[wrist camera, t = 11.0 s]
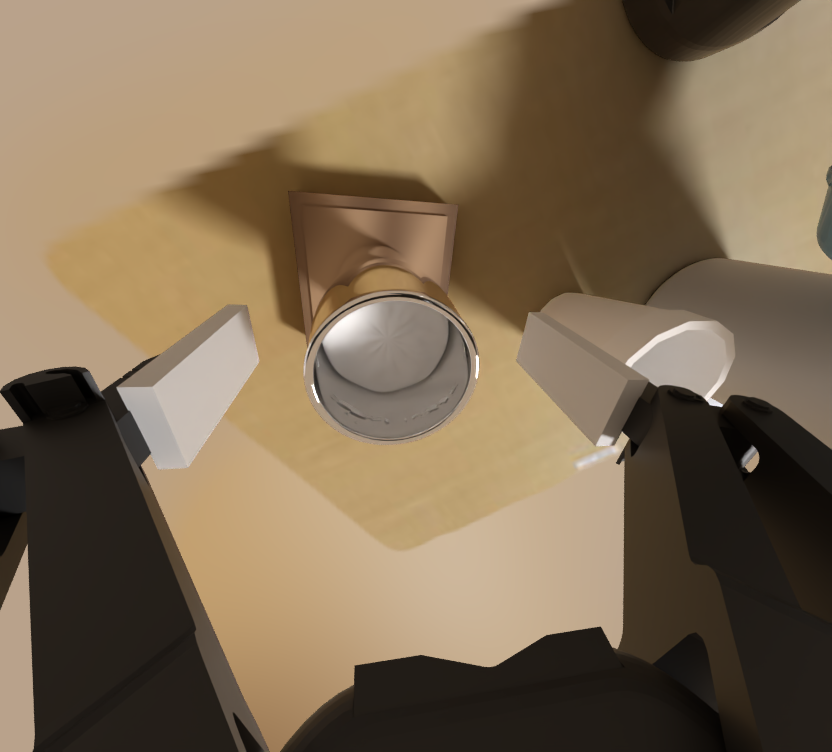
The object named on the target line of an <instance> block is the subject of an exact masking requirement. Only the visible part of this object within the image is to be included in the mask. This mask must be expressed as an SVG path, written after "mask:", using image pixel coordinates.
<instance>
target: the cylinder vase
mask: <svg viewBox="0 0 832 752" xmlns="http://www.w3.org/2000/svg"><path fill="white" fill-rule="evenodd" d="M645 306H650V307H655V308H661V309H666V310H686V311H689V312H692V313H695V314H698V315H701V316H704V317H707V318H710V319H713V320H716V321H718V322H719V323H720V324H722V325H723V326H724V327H725V328H727V329H728V330H729V331H730V332H732V333H733V334H734V345H735V358H734V360H733V363H732V365H731V367H730V370H729V372H728V374H727V376H726V379H725V381H724V382H723V383H722V385H721V386H720V387H719V388H718V389H717V390H716V392H715V393H714V394H713V395H712V396H711V397H710V398H712V399H714V400H716V401H718V402H719V403H721V404H723V405H724V404H725V402H726V401H727V399H728V398H729V397H730V395H742V396H747V397H755V398H758V399H761V400H764V401H767V402H768V403H770V404H771V405H772V406H775V407H776V408H778V409H780V410H781V411H783V412H784V413H785V414H787V415H788V416H789V417H791V418H792V419H793V420H794V421H796V422H797V423H798V424H800V425H801V426H802V427H803V428H805V429H806V430H807V431H809V432H810V433H811V434H812V435H814V436H815V437H816V438H817V439H819V440H820V441H821V442H823V443H824V444H825V445H826V446H828V447H829V448H830V449H832V275H831V274H825V273H818V272H811V271H805V270H798V269H791V268H785V267H778V266H772V265H765V264H758V263H752V262H745V261H738V260H732V259H725V258H713V259H707V260H703V261H699V262H697V263H694V264H692V265H689V266H687V267H685V268H684V269H682V270H680V271H679V272H677V273H676V274H674V275H673V276H672V277H670V278H669V279H668V280H667V281H665V282H664V283H663V284H662V285H661V286H660V287H659V288H658V289H657V290H656V292H655V293H654V294H653V295H652V296H651V298H650V299H649V300H648V302H647V303H646V305H645Z"/></svg>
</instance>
